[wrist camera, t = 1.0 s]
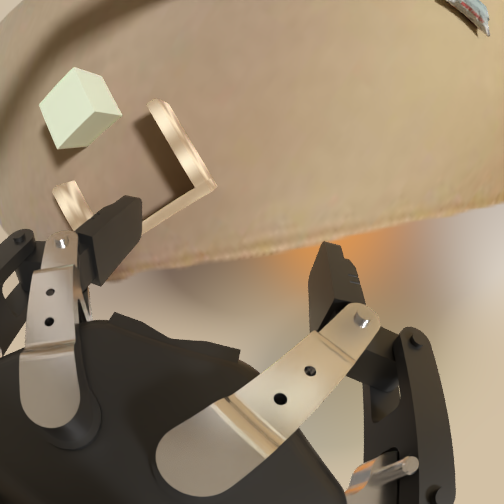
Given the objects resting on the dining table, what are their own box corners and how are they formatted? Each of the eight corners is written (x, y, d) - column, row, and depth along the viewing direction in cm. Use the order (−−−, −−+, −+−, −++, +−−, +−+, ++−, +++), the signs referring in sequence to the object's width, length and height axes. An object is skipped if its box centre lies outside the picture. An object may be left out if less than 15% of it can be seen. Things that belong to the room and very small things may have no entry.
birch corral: (69, 185, 37) (51, 190, 33) (168, 103, 33) (155, 97, 28) (110, 255, 42) (96, 267, 37) (217, 186, 37) (211, 191, 33)
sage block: (69, 107, 33) (39, 104, 25) (102, 76, 31) (73, 66, 23) (87, 146, 35) (57, 149, 28) (122, 115, 34) (94, 111, 26)
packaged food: (481, 38, 23) (496, 34, 18) (438, 1, 22) (451, -7, 17) (482, 16, 20) (495, 10, 15) (440, -19, 19) (452, -27, 14)
